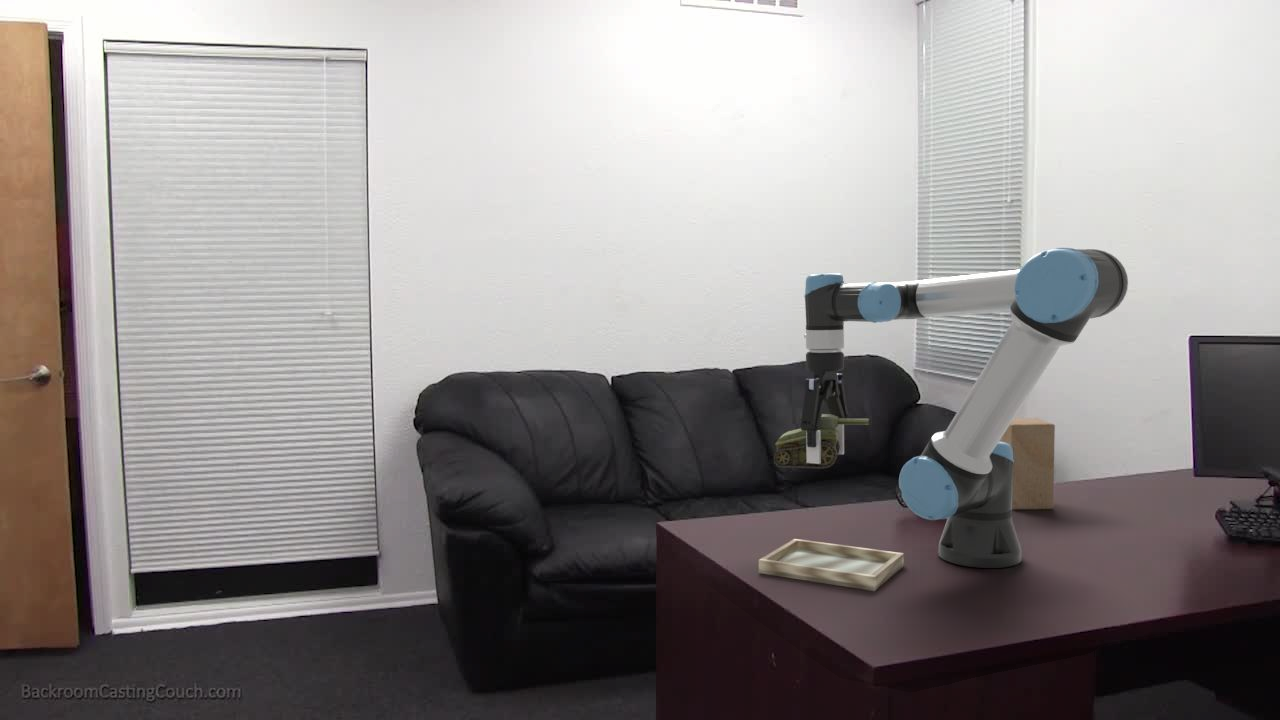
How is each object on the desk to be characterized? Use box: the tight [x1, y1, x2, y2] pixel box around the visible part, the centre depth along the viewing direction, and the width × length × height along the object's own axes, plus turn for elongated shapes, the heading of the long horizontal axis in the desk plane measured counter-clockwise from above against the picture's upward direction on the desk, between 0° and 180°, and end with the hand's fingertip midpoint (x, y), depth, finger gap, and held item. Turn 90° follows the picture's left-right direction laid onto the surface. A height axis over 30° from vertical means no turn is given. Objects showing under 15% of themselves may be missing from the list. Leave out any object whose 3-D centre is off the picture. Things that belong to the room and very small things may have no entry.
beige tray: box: [758, 538, 905, 592], centre depth 185 cm, size 22×17×2 cm
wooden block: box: [999, 417, 1056, 511], centre depth 233 cm, size 10×10×20 cm
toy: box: [773, 413, 870, 469], centre depth 200 cm, size 10×18×10 cm, turn 75°
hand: (825, 458), depth 200 cm, fingers closed on toy, 11 cm apart
